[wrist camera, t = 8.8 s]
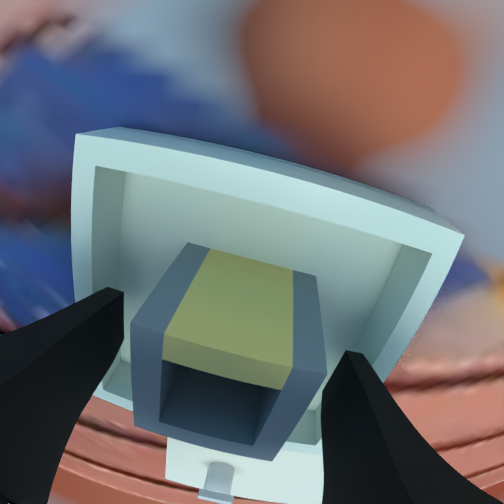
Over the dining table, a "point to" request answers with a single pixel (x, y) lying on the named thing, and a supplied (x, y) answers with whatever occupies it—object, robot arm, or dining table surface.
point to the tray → (254, 241)
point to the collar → (227, 353)
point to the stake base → (246, 474)
